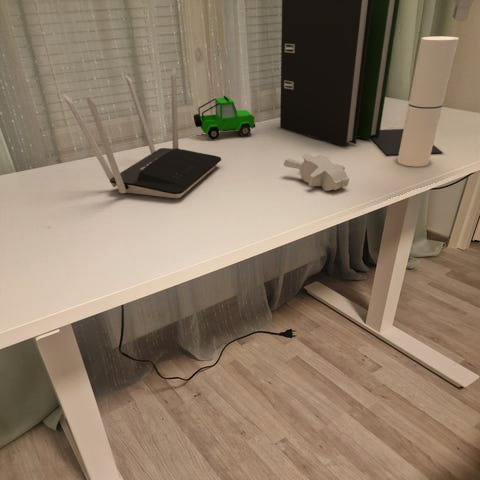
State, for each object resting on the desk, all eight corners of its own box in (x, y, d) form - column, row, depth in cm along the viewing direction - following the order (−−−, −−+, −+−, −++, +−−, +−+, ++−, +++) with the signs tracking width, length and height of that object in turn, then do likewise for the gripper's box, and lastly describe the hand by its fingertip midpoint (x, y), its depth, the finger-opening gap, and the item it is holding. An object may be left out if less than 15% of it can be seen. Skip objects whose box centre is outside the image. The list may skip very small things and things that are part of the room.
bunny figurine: (327, 178, 85) (280, 151, 93) (323, 202, 88) (278, 174, 97) (360, 168, 89) (312, 143, 98) (355, 190, 92) (309, 165, 101)
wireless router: (169, 213, 84) (152, 101, 71) (72, 200, 90) (42, 96, 78) (230, 159, 108) (226, 69, 96) (151, 152, 115) (137, 67, 103)
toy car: (256, 136, 124) (256, 98, 118) (198, 142, 121) (194, 103, 115) (248, 128, 131) (248, 92, 124) (193, 134, 128) (190, 97, 121)
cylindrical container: (392, 162, 103) (415, 39, 87) (405, 154, 107) (430, 35, 91) (420, 168, 99) (450, 40, 83) (433, 160, 103) (464, 37, 87)
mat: (412, 130, 124) (413, 128, 124) (442, 153, 107) (442, 152, 106) (364, 131, 124) (364, 130, 124) (386, 155, 107) (386, 154, 107)
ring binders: (380, 137, 118) (403, -9, 98) (341, 147, 112) (357, -6, 92) (315, 120, 136) (322, -6, 117) (278, 128, 130) (280, -3, 110)
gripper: (528, -105, 55) (493, 24, 64) (493, -87, 71) (468, 15, 79) (476, -101, 56) (448, 25, 65) (452, -84, 72) (432, 16, 81)
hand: (458, 20), depth 72 cm, fingers closed
